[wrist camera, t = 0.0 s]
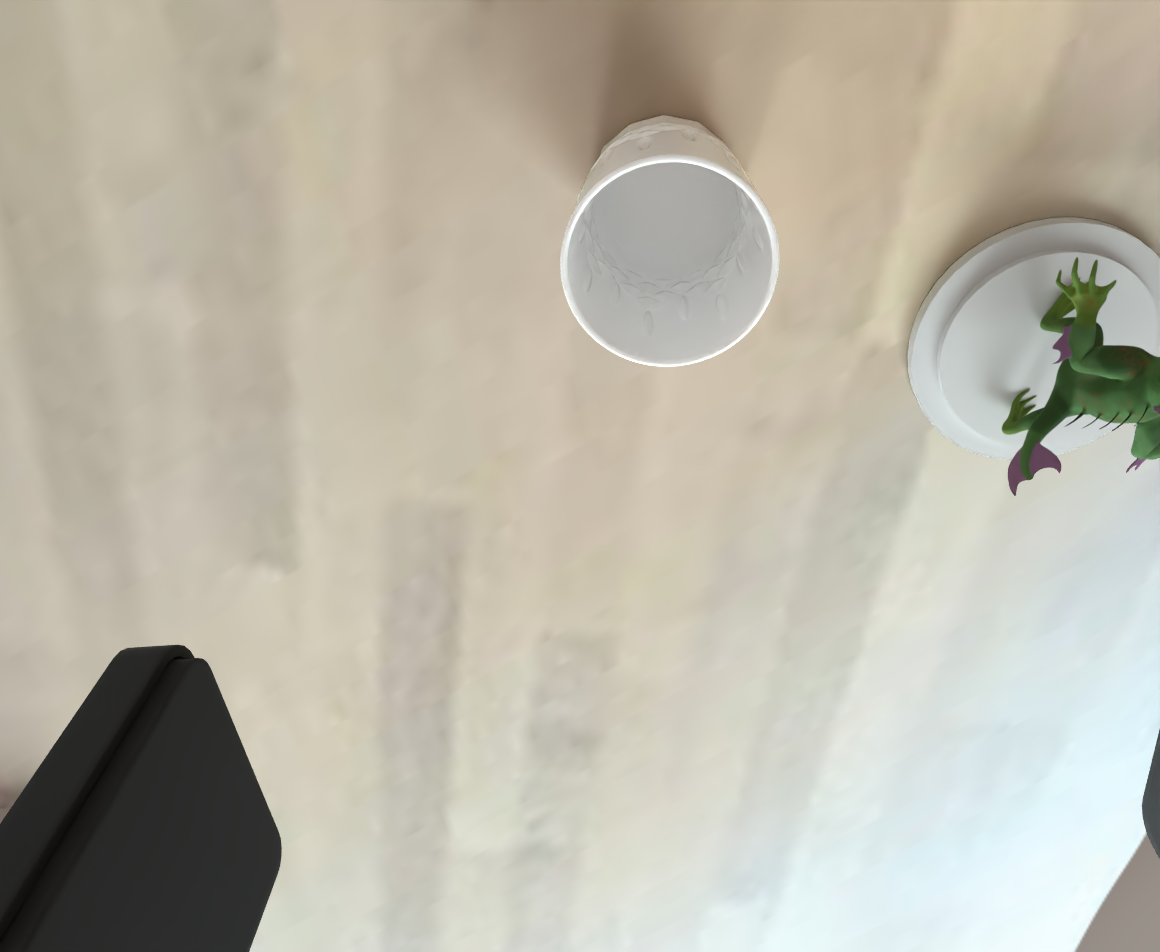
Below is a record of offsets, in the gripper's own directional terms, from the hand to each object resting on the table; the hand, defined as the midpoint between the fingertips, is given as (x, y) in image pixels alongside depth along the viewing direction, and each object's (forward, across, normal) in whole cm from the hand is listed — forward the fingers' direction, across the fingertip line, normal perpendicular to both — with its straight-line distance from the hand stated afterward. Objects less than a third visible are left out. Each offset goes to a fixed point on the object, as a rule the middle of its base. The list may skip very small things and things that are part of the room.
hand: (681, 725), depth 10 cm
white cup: (+38, 0, +5) cm, 38 cm away
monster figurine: (+38, -17, +14) cm, 43 cm away
